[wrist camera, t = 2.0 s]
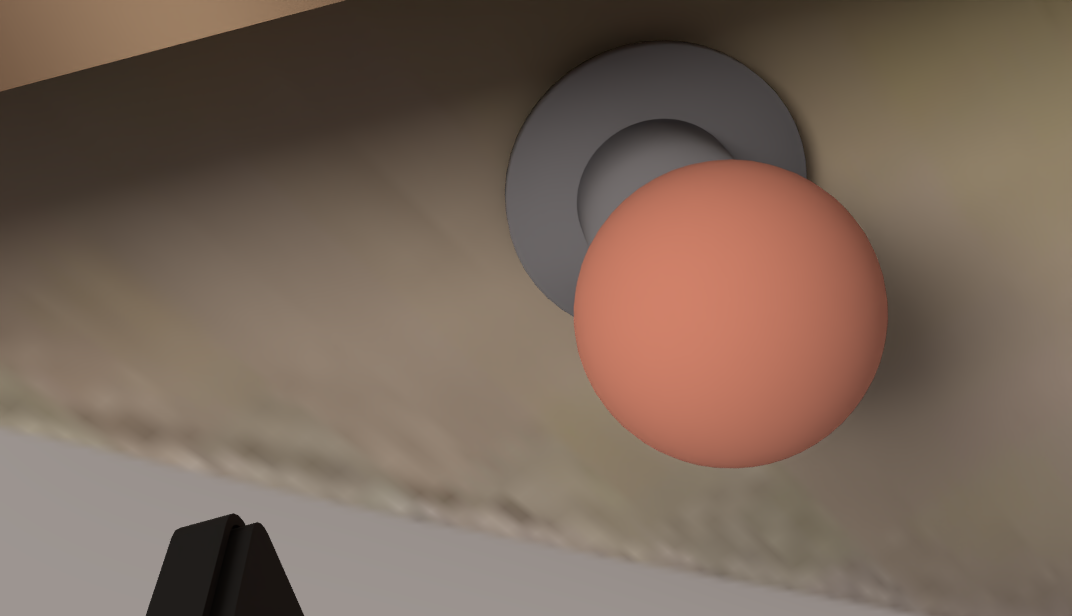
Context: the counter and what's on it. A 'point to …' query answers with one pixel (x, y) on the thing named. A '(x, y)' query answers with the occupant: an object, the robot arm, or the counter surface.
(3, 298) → the counter surface
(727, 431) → the ball
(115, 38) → the wooden trough
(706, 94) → the stand
